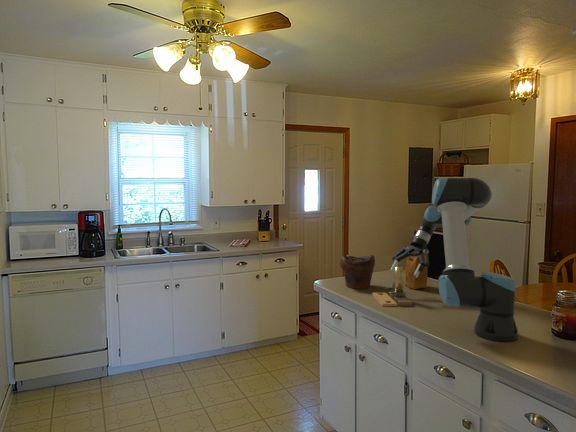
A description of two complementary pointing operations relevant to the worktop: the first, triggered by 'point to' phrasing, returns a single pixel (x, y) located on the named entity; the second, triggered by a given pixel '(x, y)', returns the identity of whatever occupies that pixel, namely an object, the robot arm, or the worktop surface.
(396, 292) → the brass leg
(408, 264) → the coffee package
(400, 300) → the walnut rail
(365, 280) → the brown basket
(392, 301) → the orange bolt plate
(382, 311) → the worktop surface
